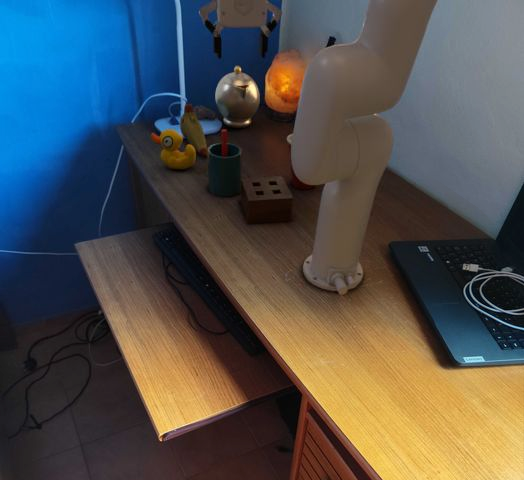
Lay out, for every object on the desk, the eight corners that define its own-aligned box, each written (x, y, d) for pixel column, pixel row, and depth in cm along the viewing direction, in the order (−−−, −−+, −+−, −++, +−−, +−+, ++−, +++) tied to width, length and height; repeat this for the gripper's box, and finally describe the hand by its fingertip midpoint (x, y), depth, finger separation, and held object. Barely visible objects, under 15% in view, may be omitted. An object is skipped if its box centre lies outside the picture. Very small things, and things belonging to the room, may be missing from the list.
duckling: (152, 170, 125) (147, 132, 117) (157, 161, 128) (152, 124, 121) (194, 174, 125) (192, 136, 117) (198, 164, 128) (195, 127, 121)
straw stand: (290, 220, 111) (293, 197, 107) (248, 223, 109) (248, 200, 105) (280, 198, 118) (282, 176, 114) (240, 201, 116) (240, 178, 112)
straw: (227, 186, 120) (227, 131, 109) (222, 187, 119) (222, 131, 109) (227, 184, 120) (226, 129, 110) (222, 184, 120) (221, 129, 110)
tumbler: (244, 195, 118) (244, 156, 111) (211, 197, 117) (209, 158, 109) (238, 179, 124) (238, 142, 116) (206, 181, 122) (205, 143, 115)
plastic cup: (323, 176, 127) (330, 131, 118) (323, 195, 120) (330, 149, 111) (284, 172, 128) (288, 127, 119) (281, 191, 120) (285, 145, 111)
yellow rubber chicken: (215, 159, 131) (214, 122, 124) (196, 161, 129) (194, 124, 122) (192, 130, 143) (190, 95, 136) (175, 133, 142) (172, 97, 134)
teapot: (264, 131, 145) (267, 73, 133) (223, 135, 142) (222, 75, 130) (247, 109, 157) (248, 54, 145) (208, 112, 153) (206, 56, 141)
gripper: (199, -43, 85) (203, 62, 98) (289, -41, 89) (282, 61, 101) (194, -50, 90) (198, 51, 103) (280, -47, 94) (274, 50, 106)
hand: (240, 56), depth 102 cm, fingers open, 9 cm apart
